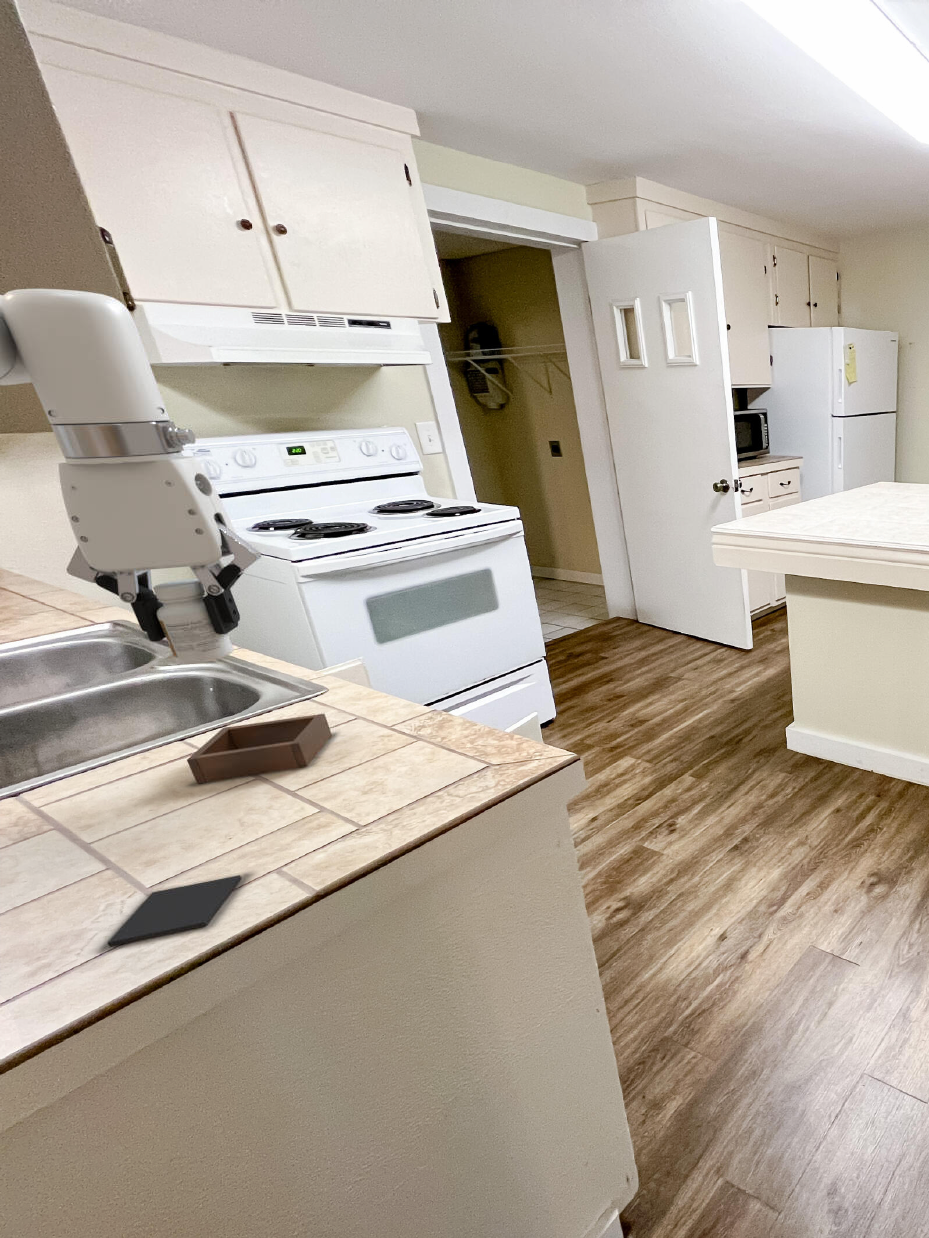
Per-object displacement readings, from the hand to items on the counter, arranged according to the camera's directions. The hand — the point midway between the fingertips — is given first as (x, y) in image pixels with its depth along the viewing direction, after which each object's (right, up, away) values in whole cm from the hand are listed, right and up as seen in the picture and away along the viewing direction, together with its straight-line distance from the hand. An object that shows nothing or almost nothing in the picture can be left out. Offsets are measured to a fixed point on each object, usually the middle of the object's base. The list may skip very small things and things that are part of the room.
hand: (195, 631), depth 69 cm
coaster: (+11, -23, -13) cm, 29 cm away
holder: (-2, -14, +11) cm, 18 cm away
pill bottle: (0, -3, +1) cm, 3 cm away
